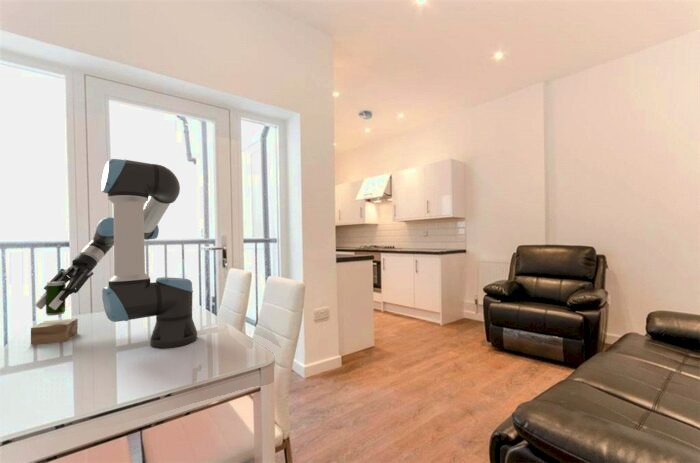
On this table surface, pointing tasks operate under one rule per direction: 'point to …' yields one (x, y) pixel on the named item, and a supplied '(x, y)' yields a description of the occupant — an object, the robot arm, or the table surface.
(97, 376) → the table surface
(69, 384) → the table surface
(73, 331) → the walnut block
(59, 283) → the guarana soda can
